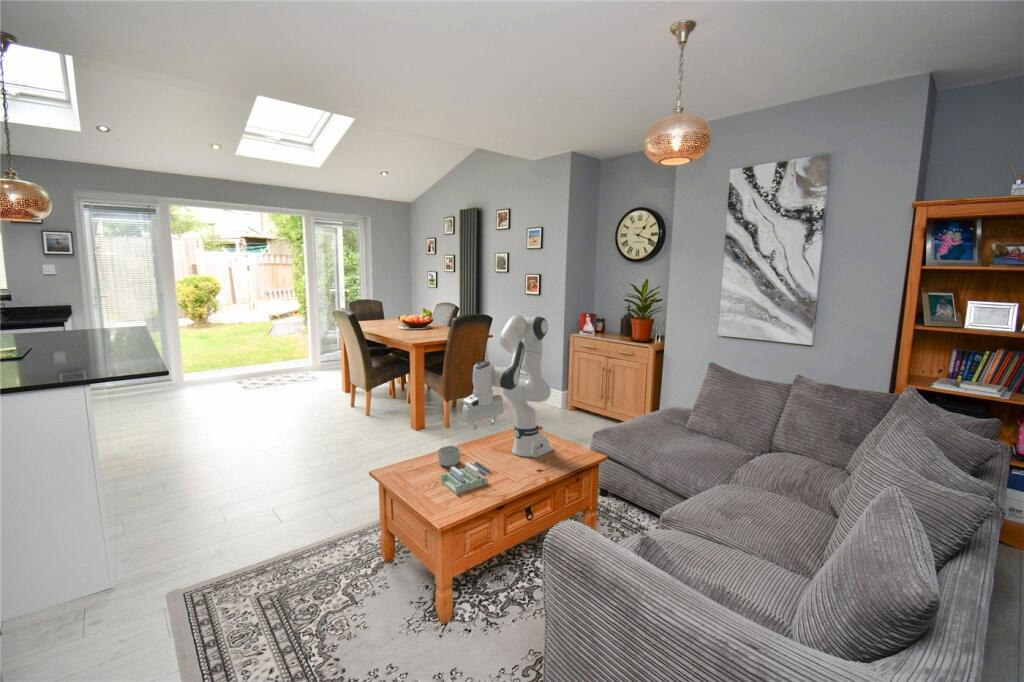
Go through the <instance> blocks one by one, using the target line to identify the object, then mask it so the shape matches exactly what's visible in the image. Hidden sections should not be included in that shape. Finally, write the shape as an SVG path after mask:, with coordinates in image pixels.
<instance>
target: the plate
mask: <svg viewBox="0 0 1024 682" xmlns="http://www.w3.org/2000/svg"><path fill="white" fill-rule="evenodd" d="M470 463H471V462H466V463H465V464H464V468H465V472H467V473H468V474H469V475H471V476H472V477H474V478H475V479H476V480H478V479H479V475H480V473H479V469H477V468H476V467H474V466H473V465H471V464H470Z"/></svg>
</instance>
